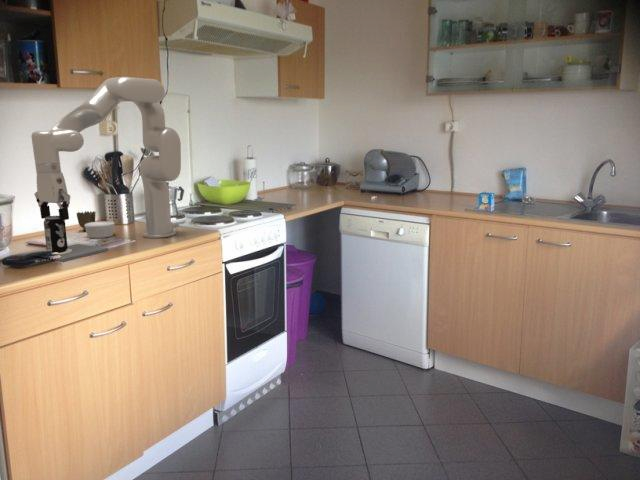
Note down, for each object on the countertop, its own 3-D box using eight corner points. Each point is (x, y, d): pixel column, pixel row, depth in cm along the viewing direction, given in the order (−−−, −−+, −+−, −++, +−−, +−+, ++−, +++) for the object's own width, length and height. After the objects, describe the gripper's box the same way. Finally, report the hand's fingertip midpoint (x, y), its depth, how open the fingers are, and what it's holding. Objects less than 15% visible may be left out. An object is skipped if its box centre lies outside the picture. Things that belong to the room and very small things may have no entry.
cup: (79, 229, 240) (77, 211, 238) (98, 228, 242) (96, 210, 240) (76, 233, 233) (75, 214, 231) (96, 232, 234) (94, 213, 233)
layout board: (77, 246, 208) (77, 243, 208) (107, 250, 200) (107, 247, 200) (32, 256, 192) (32, 253, 192) (63, 261, 185) (62, 258, 184)
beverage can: (71, 249, 198) (67, 215, 195) (63, 253, 191) (59, 218, 189) (51, 249, 197) (48, 215, 195) (43, 253, 191) (39, 218, 189)
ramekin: (119, 233, 231) (118, 221, 230) (109, 239, 221) (108, 225, 219) (92, 233, 232) (91, 221, 231) (80, 239, 221) (79, 226, 220)
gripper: (75, 168, 187) (81, 218, 191) (42, 166, 196) (48, 215, 200) (55, 170, 181) (62, 222, 185) (21, 169, 189) (29, 219, 193)
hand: (55, 218), depth 192 cm, fingers open, 9 cm apart
